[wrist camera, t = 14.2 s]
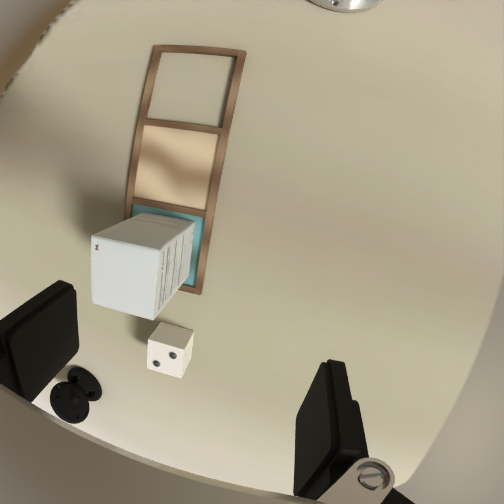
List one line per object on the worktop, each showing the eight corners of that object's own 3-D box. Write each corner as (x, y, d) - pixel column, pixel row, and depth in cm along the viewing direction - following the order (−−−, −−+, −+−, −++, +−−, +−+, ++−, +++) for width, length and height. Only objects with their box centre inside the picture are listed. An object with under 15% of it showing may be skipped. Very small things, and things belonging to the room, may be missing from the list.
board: (157, 46, 33) (155, 44, 32) (246, 52, 33) (245, 50, 32) (123, 272, 42) (120, 274, 41) (201, 292, 42) (200, 295, 41)
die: (160, 321, 44) (146, 339, 39) (194, 330, 44) (184, 350, 39) (158, 349, 45) (145, 368, 40) (190, 358, 45) (181, 379, 40)
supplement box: (138, 264, 41) (88, 303, 29) (143, 210, 39) (88, 232, 27) (190, 277, 41) (153, 323, 29) (198, 221, 39) (159, 249, 27)
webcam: (63, 374, 50) (35, 404, 41) (80, 360, 48) (50, 392, 39) (91, 403, 51) (67, 435, 42) (110, 391, 49) (85, 427, 40)
